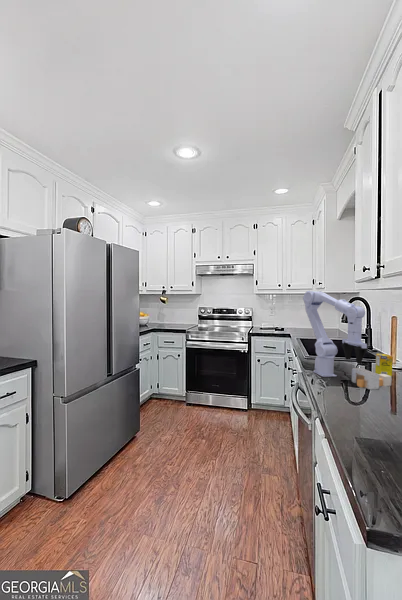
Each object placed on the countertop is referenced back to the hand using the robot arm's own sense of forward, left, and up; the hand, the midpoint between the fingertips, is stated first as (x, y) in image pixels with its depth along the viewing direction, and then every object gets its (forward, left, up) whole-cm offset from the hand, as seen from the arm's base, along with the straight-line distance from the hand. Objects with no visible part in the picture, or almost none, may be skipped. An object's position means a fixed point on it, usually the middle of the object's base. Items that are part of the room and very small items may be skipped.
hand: (353, 361), depth 143 cm
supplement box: (-10, +25, -11) cm, 29 cm away
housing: (+4, +4, -10) cm, 12 cm away
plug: (+4, +8, -10) cm, 14 cm away
